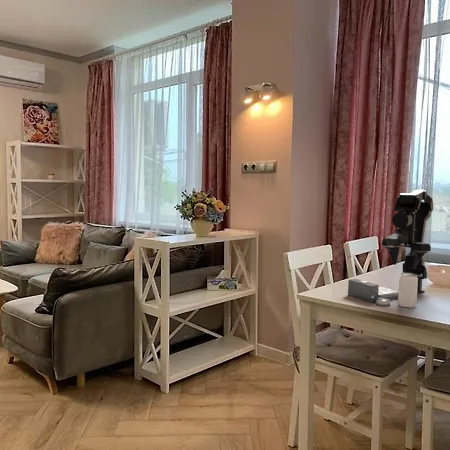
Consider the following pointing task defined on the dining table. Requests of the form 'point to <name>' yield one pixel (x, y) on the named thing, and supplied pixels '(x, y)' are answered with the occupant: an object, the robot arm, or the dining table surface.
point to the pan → (386, 292)
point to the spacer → (383, 302)
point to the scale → (366, 291)
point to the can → (407, 290)
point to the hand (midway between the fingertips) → (403, 266)
